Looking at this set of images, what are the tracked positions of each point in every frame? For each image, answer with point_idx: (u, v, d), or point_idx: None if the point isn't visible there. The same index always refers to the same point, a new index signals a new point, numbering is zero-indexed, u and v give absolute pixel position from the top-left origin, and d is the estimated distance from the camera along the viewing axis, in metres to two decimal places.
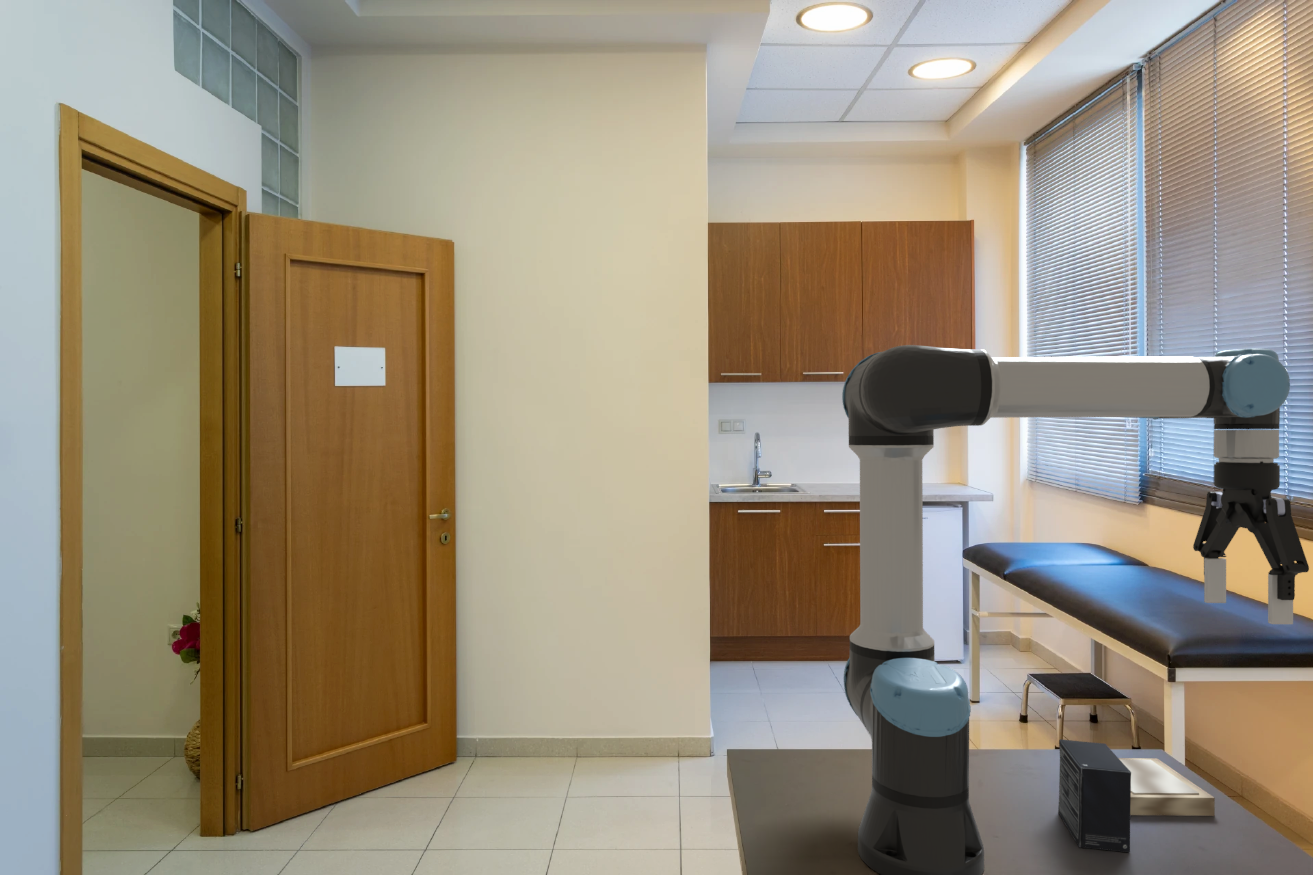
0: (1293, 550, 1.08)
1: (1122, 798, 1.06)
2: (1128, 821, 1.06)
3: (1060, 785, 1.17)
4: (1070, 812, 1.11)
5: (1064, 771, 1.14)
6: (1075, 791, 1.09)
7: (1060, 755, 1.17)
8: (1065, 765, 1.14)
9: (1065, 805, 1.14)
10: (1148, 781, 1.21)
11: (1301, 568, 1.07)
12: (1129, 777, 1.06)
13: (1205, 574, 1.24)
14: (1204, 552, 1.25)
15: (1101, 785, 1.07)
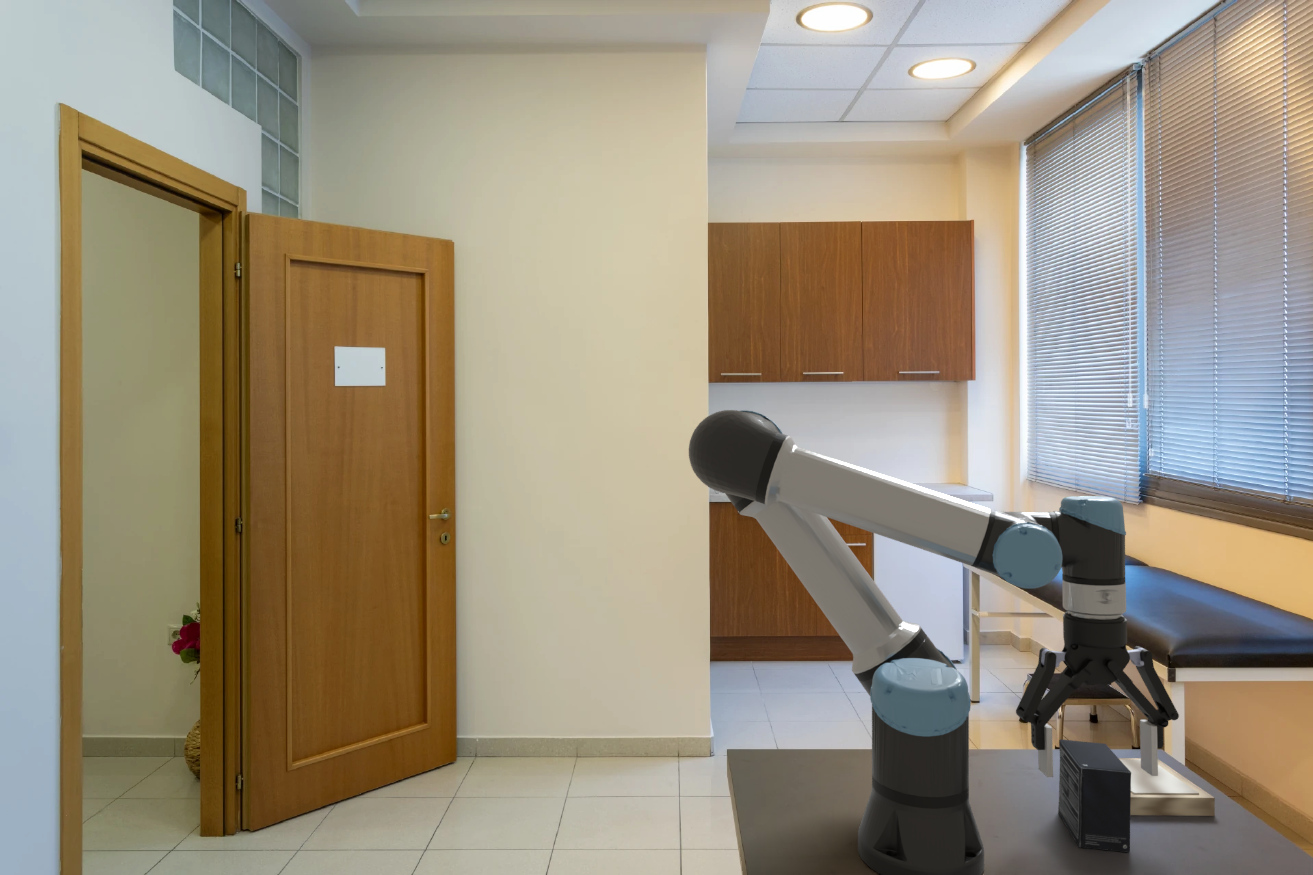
0: (1026, 698, 1.12)
1: (1122, 799, 1.06)
2: (1128, 821, 1.06)
3: (1060, 785, 1.17)
4: (1070, 812, 1.11)
5: (1064, 771, 1.14)
6: (1075, 791, 1.09)
7: (1060, 755, 1.17)
8: (1065, 765, 1.14)
9: (1065, 805, 1.14)
10: (1148, 781, 1.21)
11: (1020, 715, 1.11)
12: (1129, 777, 1.06)
13: None
14: (1147, 713, 1.13)
15: (1101, 785, 1.07)
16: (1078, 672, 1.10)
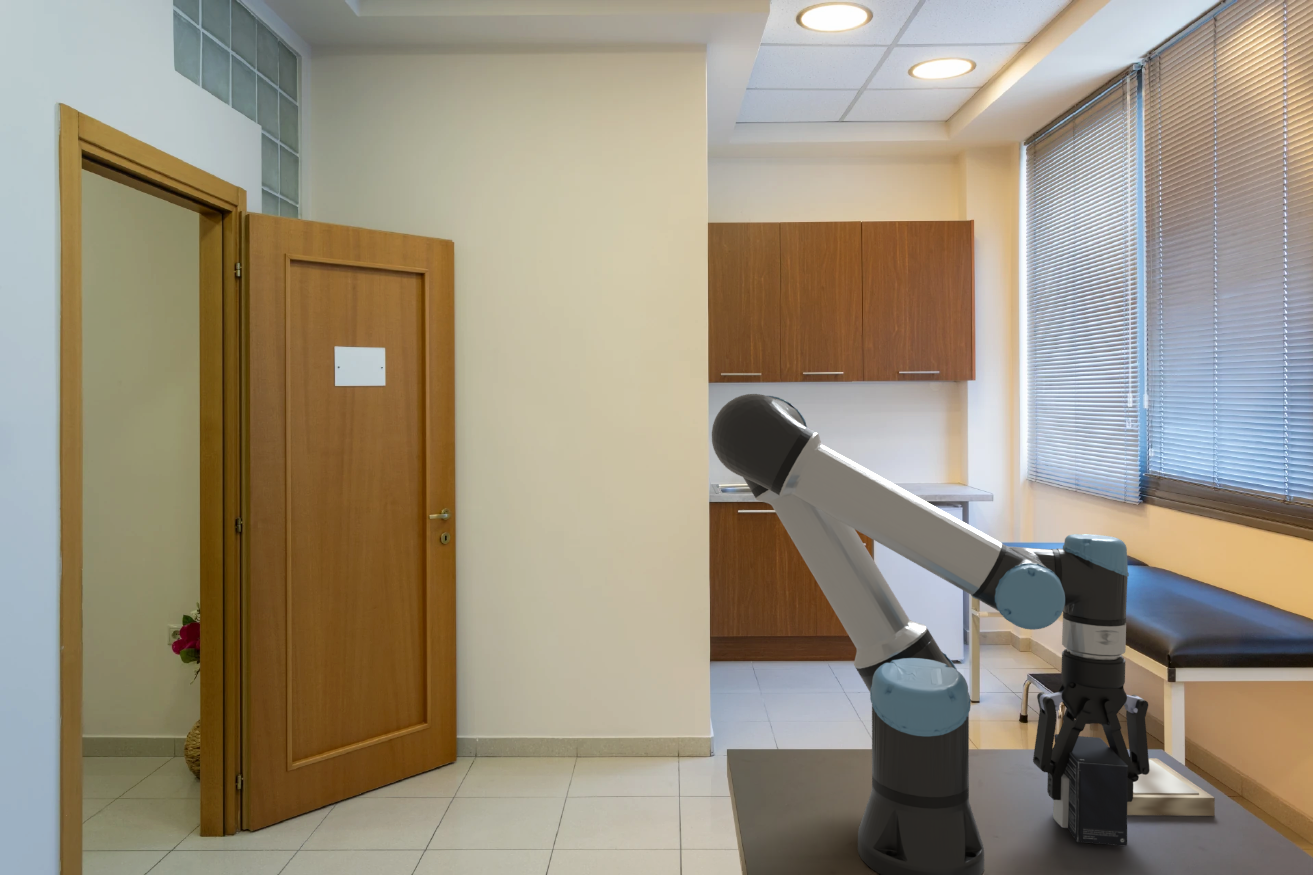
0: (1038, 747, 1.12)
1: (1119, 792, 1.06)
2: (1125, 815, 1.06)
3: None
4: None
5: None
6: (1072, 785, 1.09)
7: None
8: None
9: None
10: (1148, 781, 1.21)
11: (1038, 766, 1.12)
12: (1126, 771, 1.06)
13: None
14: None
15: (1098, 779, 1.07)
16: (1078, 714, 1.10)
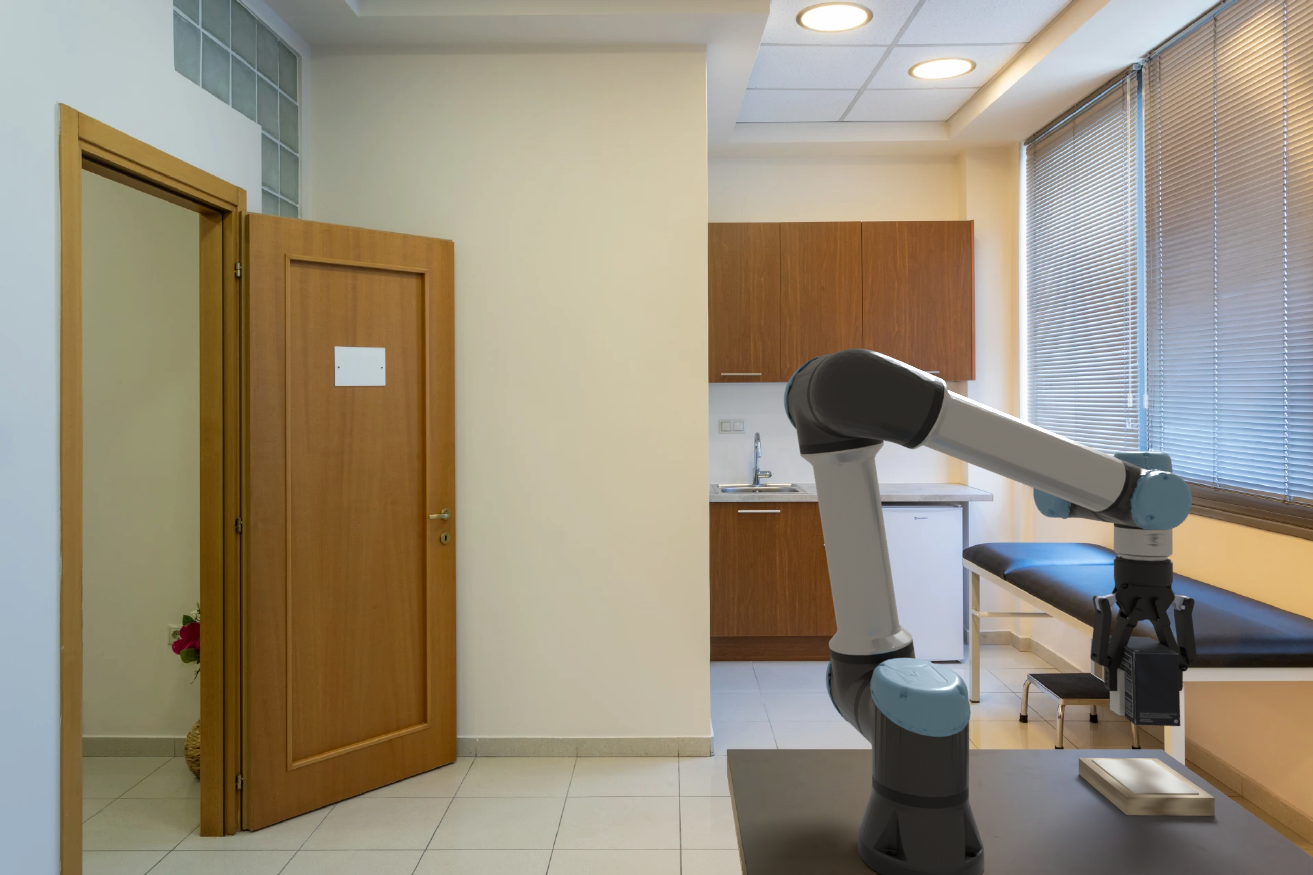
0: (1095, 644, 1.23)
1: (1171, 678, 1.18)
2: (1178, 698, 1.18)
3: None
4: None
5: None
6: (1128, 675, 1.21)
7: None
8: None
9: None
10: (1148, 781, 1.21)
11: (1095, 661, 1.23)
12: (1177, 658, 1.18)
13: None
14: None
15: (1153, 667, 1.18)
16: (1131, 612, 1.22)
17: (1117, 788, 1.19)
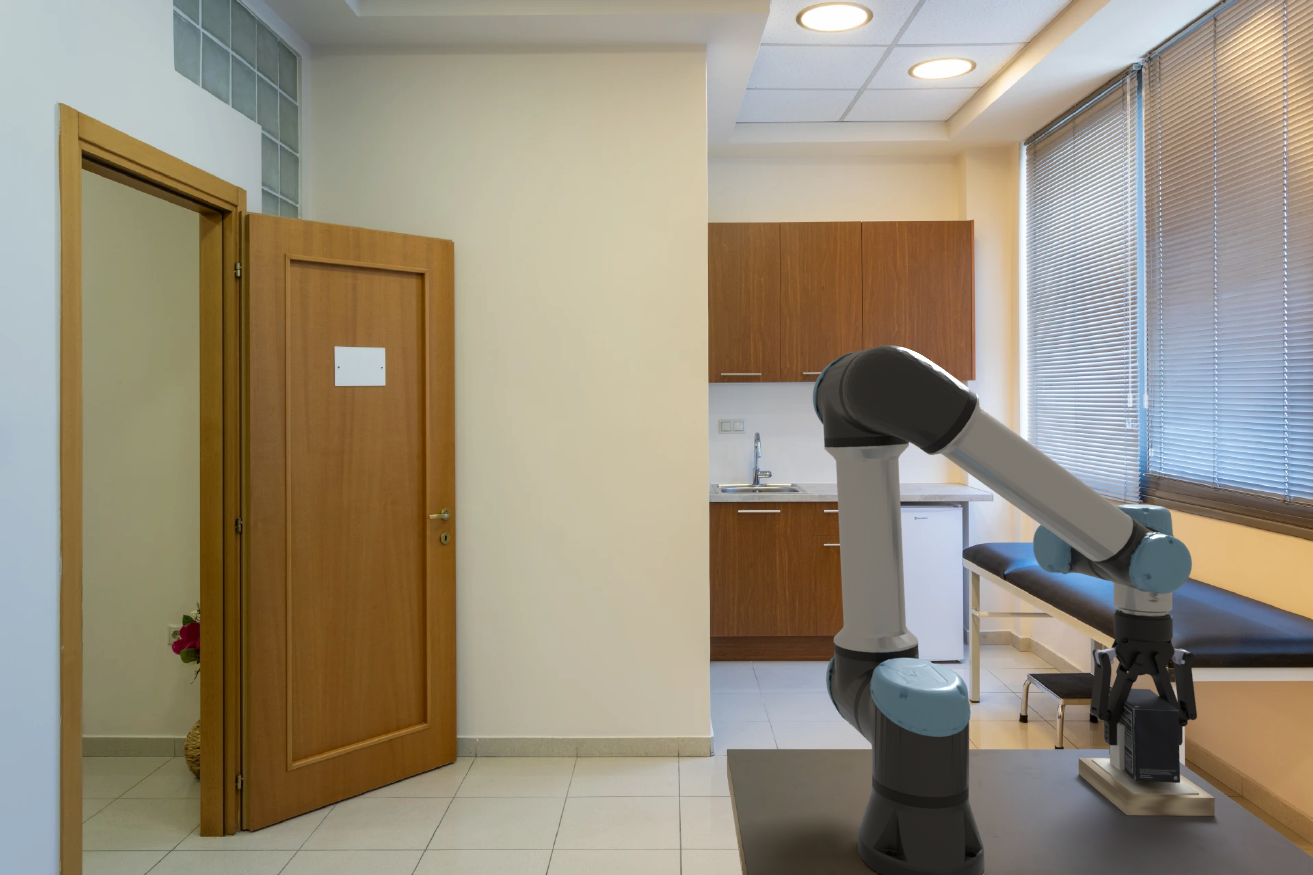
0: (1095, 698, 1.24)
1: (1171, 735, 1.18)
2: (1178, 755, 1.18)
3: None
4: None
5: None
6: (1128, 730, 1.21)
7: None
8: None
9: None
10: (1148, 781, 1.21)
11: (1095, 715, 1.23)
12: (1177, 715, 1.18)
13: None
14: None
15: (1152, 723, 1.18)
16: (1131, 667, 1.22)
17: (1117, 788, 1.19)
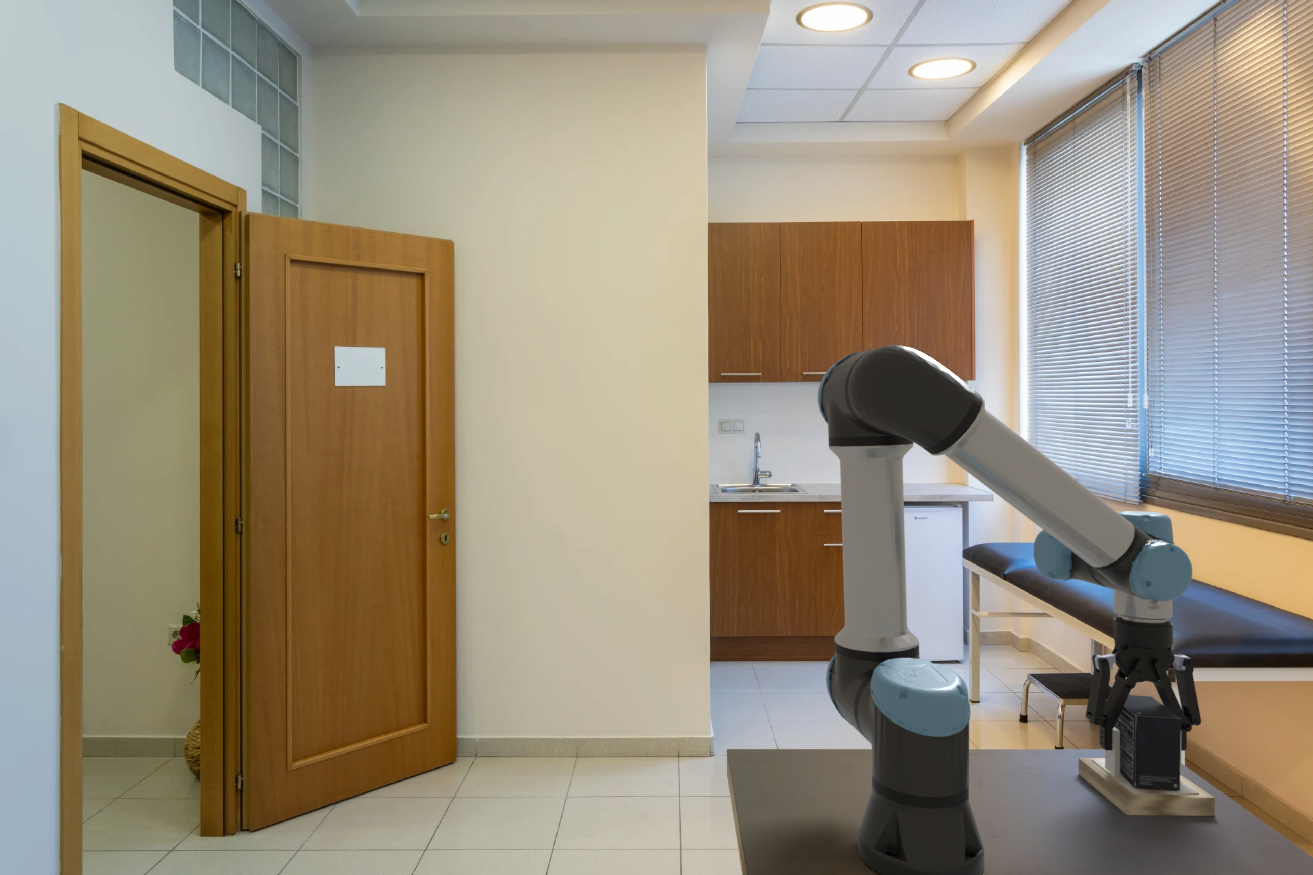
0: (1092, 703, 1.24)
1: (1173, 742, 1.18)
2: (1178, 762, 1.18)
3: None
4: (1123, 757, 1.23)
5: None
6: (1129, 737, 1.21)
7: None
8: None
9: None
10: None
11: (1090, 720, 1.23)
12: (1179, 723, 1.18)
13: None
14: None
15: (1154, 730, 1.18)
16: (1130, 673, 1.22)
17: (1117, 788, 1.19)
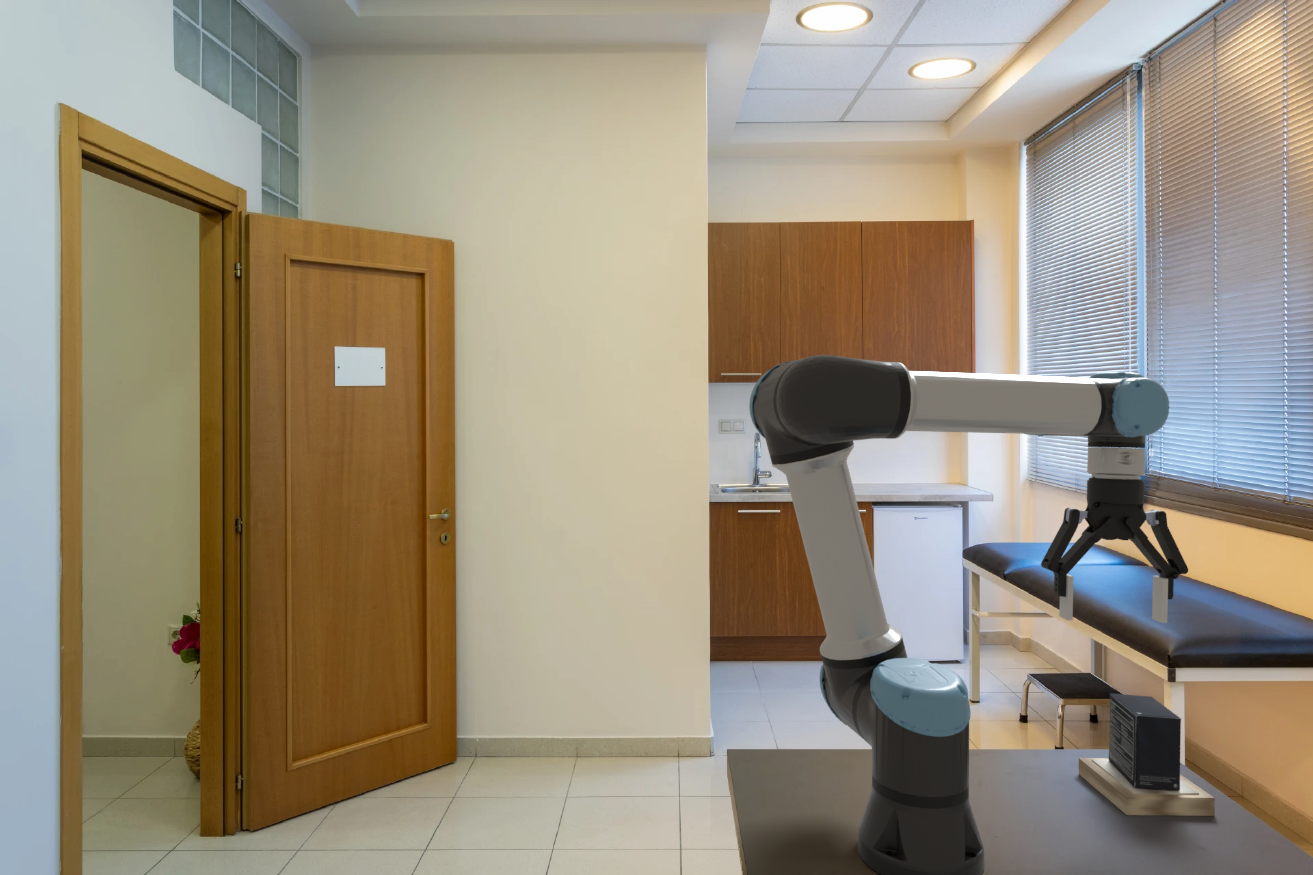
0: (1051, 551, 1.25)
1: (1173, 742, 1.18)
2: (1178, 762, 1.18)
3: (1111, 735, 1.28)
4: (1123, 757, 1.23)
5: (1116, 721, 1.26)
6: (1129, 737, 1.21)
7: (1110, 707, 1.28)
8: (1117, 716, 1.25)
9: (1117, 752, 1.25)
10: None
11: (1045, 565, 1.25)
12: (1179, 723, 1.18)
13: None
14: None
15: (1154, 730, 1.18)
16: (1099, 527, 1.23)
17: (1117, 788, 1.19)
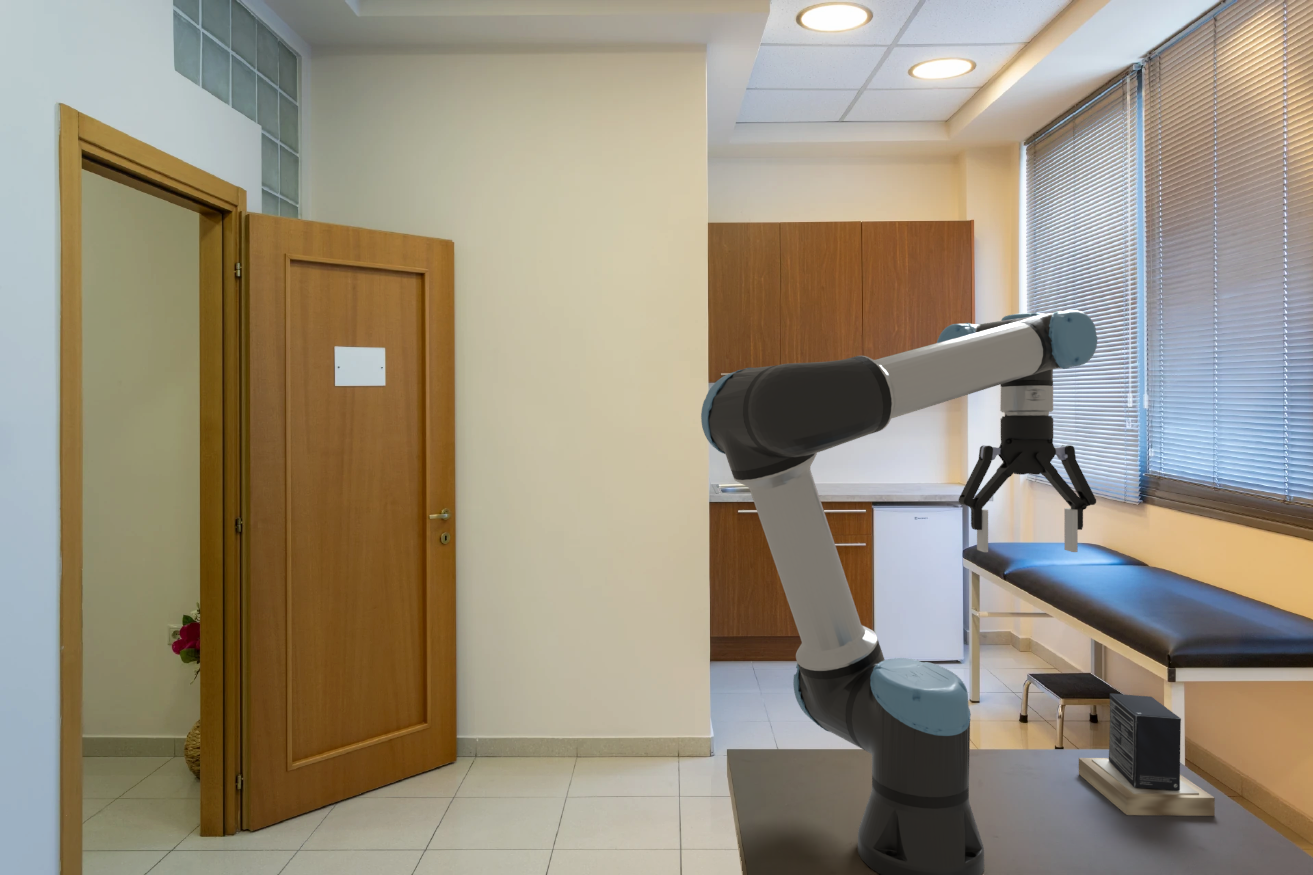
0: (967, 486, 1.31)
1: (1173, 742, 1.18)
2: (1178, 762, 1.18)
3: (1111, 735, 1.28)
4: (1123, 757, 1.23)
5: (1116, 721, 1.26)
6: (1129, 737, 1.21)
7: (1110, 707, 1.28)
8: (1117, 716, 1.25)
9: (1117, 752, 1.25)
10: None
11: (961, 501, 1.30)
12: (1179, 723, 1.18)
13: None
14: None
15: (1154, 730, 1.18)
16: (1011, 462, 1.29)
17: (1117, 788, 1.19)
